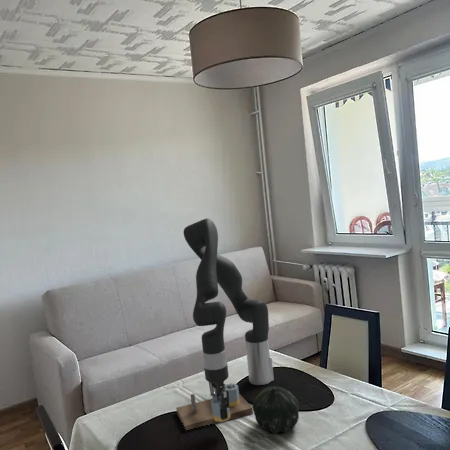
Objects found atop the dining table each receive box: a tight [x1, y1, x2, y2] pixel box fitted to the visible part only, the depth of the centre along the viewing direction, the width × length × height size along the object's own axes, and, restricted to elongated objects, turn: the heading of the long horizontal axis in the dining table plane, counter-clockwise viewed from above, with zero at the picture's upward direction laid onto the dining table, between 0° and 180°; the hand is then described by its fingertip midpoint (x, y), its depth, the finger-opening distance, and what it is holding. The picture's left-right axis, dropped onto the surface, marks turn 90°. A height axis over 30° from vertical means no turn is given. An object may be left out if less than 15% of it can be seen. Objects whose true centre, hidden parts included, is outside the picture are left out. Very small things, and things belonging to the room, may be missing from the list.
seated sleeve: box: [225, 383, 240, 407], centre depth 160 cm, size 5×5×6 cm
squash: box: [252, 385, 300, 435], centre depth 144 cm, size 14×15×15 cm
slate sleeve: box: [211, 397, 230, 423], centre depth 144 cm, size 5×5×6 cm
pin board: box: [175, 383, 254, 431], centre depth 158 cm, size 24×14×9 cm, turn 109°
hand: (221, 414), depth 144 cm, fingers closed on slate sleeve, 5 cm apart
